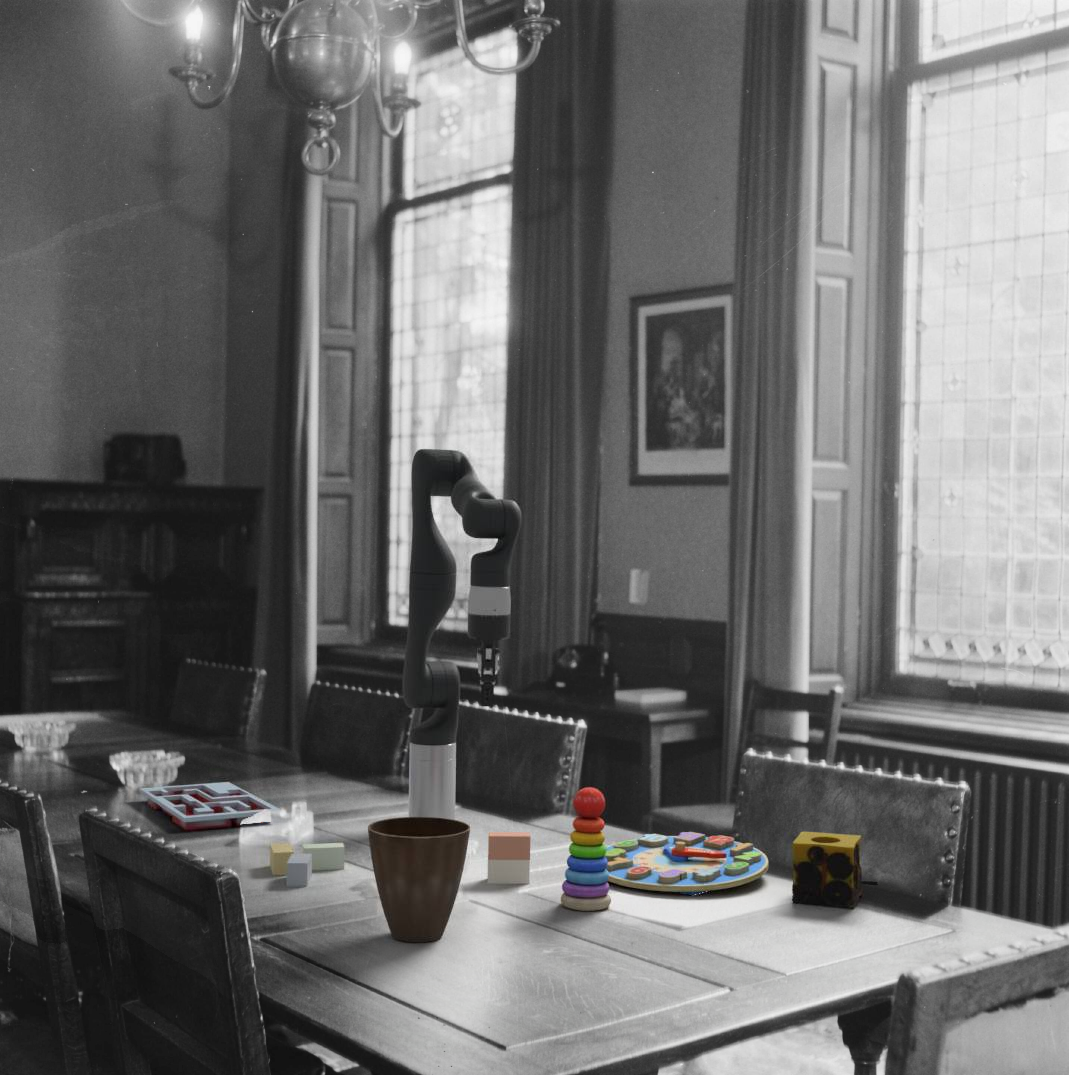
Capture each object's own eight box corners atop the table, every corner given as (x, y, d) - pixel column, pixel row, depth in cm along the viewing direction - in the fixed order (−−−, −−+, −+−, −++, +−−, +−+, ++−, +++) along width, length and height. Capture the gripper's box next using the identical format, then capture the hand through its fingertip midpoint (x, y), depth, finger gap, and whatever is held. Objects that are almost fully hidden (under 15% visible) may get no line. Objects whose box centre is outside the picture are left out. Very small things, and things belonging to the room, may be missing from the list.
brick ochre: (273, 876, 241) (273, 852, 241) (269, 866, 248) (270, 844, 248) (293, 875, 242) (293, 852, 242) (289, 865, 249) (289, 843, 249)
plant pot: (374, 920, 214) (375, 814, 214) (472, 923, 214) (474, 817, 214) (358, 949, 199) (360, 835, 199) (464, 952, 199) (466, 838, 199)
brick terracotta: (488, 855, 242) (488, 832, 242) (529, 855, 242) (529, 832, 242) (488, 860, 238) (488, 836, 238) (530, 860, 239) (530, 836, 239)
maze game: (281, 825, 284) (281, 809, 284) (183, 834, 275) (184, 818, 275) (228, 796, 315) (228, 782, 315) (139, 803, 305) (139, 788, 305)
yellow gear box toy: (862, 895, 235) (863, 835, 235) (855, 910, 225) (856, 847, 225) (800, 889, 238) (801, 830, 238) (790, 904, 228) (791, 842, 228)
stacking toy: (606, 914, 220) (608, 793, 220) (556, 910, 222) (558, 791, 222) (614, 901, 228) (616, 785, 228) (565, 898, 229) (567, 782, 229)
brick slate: (286, 887, 234) (286, 863, 234) (291, 877, 241) (291, 853, 241) (307, 887, 234) (307, 863, 234) (311, 877, 241) (312, 853, 241)
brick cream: (487, 879, 242) (487, 855, 242) (528, 879, 242) (528, 855, 242) (487, 883, 238) (488, 860, 238) (529, 884, 239) (529, 860, 239)
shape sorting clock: (554, 875, 246) (555, 841, 246) (662, 849, 268) (663, 817, 268) (698, 910, 225) (698, 872, 225) (802, 878, 247) (802, 843, 247)
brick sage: (302, 867, 248) (302, 844, 249) (342, 865, 250) (342, 843, 250) (303, 871, 245) (304, 848, 245) (344, 870, 247) (344, 847, 247)
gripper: (511, 615, 244) (508, 709, 244) (509, 609, 258) (506, 697, 259) (467, 614, 244) (465, 708, 244) (468, 608, 258) (465, 696, 258)
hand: (486, 702), depth 251 cm, fingers open, 8 cm apart
